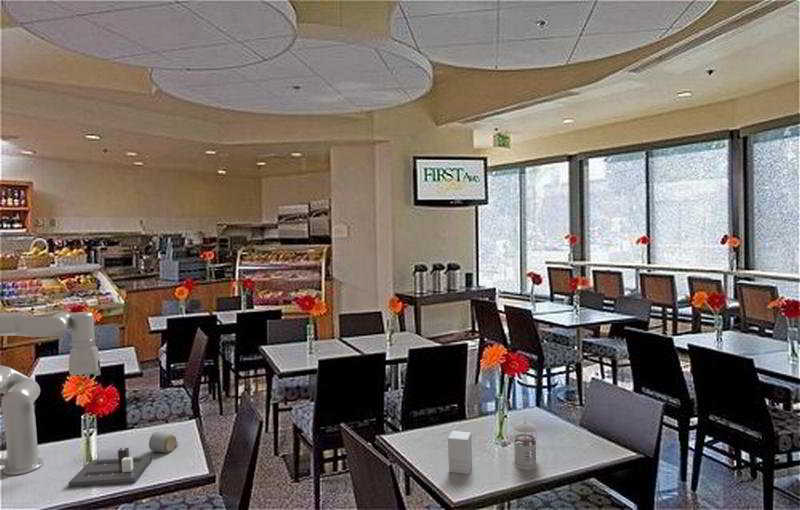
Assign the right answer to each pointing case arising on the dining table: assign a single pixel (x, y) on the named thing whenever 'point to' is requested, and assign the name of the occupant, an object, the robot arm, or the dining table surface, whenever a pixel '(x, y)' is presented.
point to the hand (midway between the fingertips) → (86, 390)
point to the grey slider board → (109, 473)
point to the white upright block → (127, 464)
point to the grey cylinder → (162, 442)
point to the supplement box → (460, 452)
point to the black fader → (123, 453)
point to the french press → (525, 446)
